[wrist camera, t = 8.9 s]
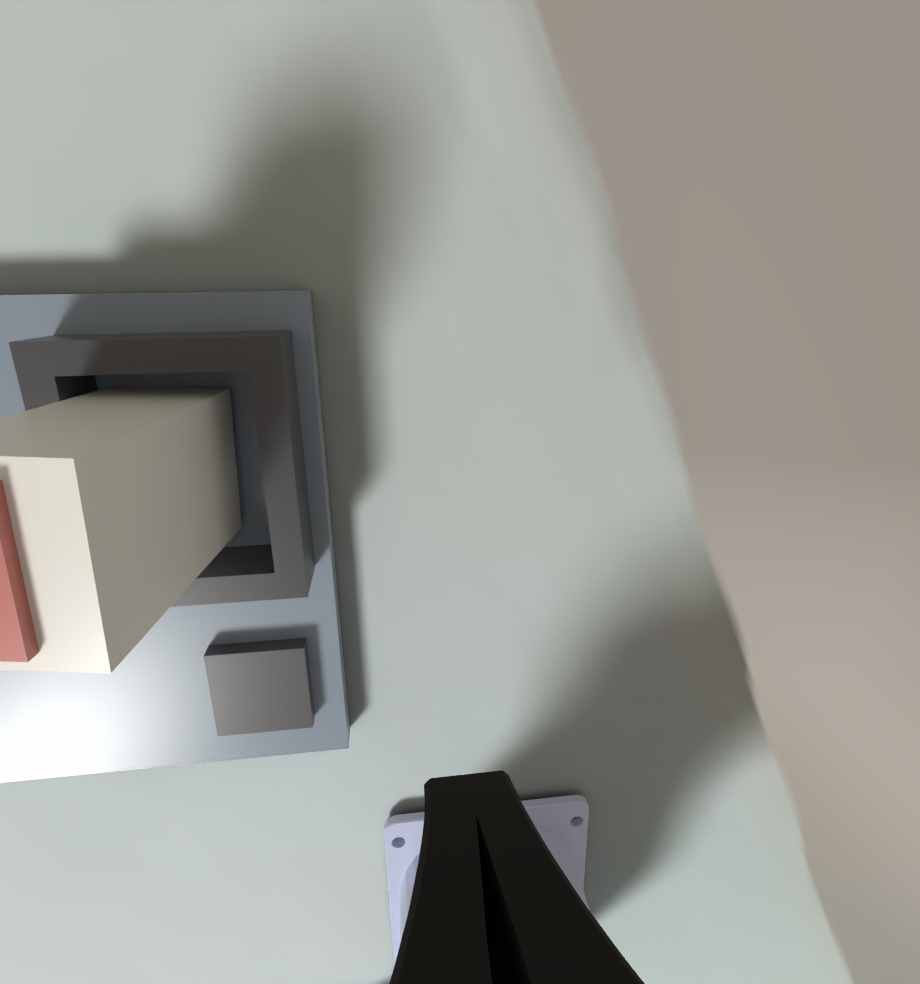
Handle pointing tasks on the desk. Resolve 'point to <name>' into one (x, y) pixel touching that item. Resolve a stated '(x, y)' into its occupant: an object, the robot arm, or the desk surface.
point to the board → (198, 628)
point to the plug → (108, 519)
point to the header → (270, 360)
